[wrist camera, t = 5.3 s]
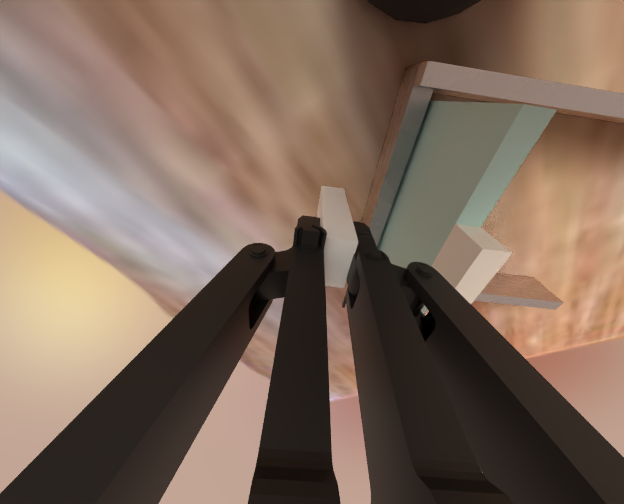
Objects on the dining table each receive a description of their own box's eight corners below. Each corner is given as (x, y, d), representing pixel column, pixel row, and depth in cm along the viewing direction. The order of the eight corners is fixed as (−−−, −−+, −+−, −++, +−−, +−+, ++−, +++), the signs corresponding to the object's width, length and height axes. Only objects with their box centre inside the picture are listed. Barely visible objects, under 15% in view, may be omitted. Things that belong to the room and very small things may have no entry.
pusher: (367, 255, 22) (401, 364, 13) (420, 100, 15) (582, 106, 6) (379, 257, 22) (420, 366, 13) (437, 102, 15) (625, 113, 6)
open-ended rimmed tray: (349, 263, 23) (353, 287, 20) (405, 67, 14) (428, 60, 11) (527, 284, 24) (555, 309, 21) (689, 115, 15) (776, 119, 12)
